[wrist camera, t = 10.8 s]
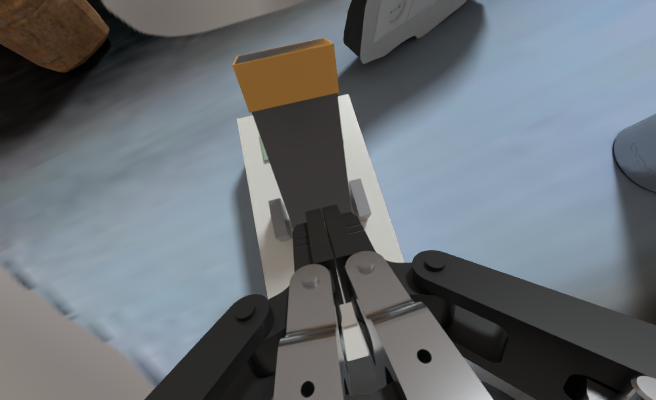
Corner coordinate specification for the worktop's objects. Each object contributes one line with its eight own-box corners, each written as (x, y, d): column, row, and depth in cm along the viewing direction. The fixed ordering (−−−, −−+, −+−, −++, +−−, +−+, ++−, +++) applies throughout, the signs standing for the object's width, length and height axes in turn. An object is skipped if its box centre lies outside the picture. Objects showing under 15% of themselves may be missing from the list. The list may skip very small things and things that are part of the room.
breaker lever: (346, 203, 23) (324, 37, 14) (354, 222, 21) (333, 43, 12) (292, 217, 23) (236, 56, 14) (294, 237, 21) (232, 65, 12)
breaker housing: (345, 126, 32) (349, 76, 24) (407, 323, 25) (442, 346, 17) (254, 147, 31) (227, 103, 23) (293, 355, 25) (275, 395, 17)
